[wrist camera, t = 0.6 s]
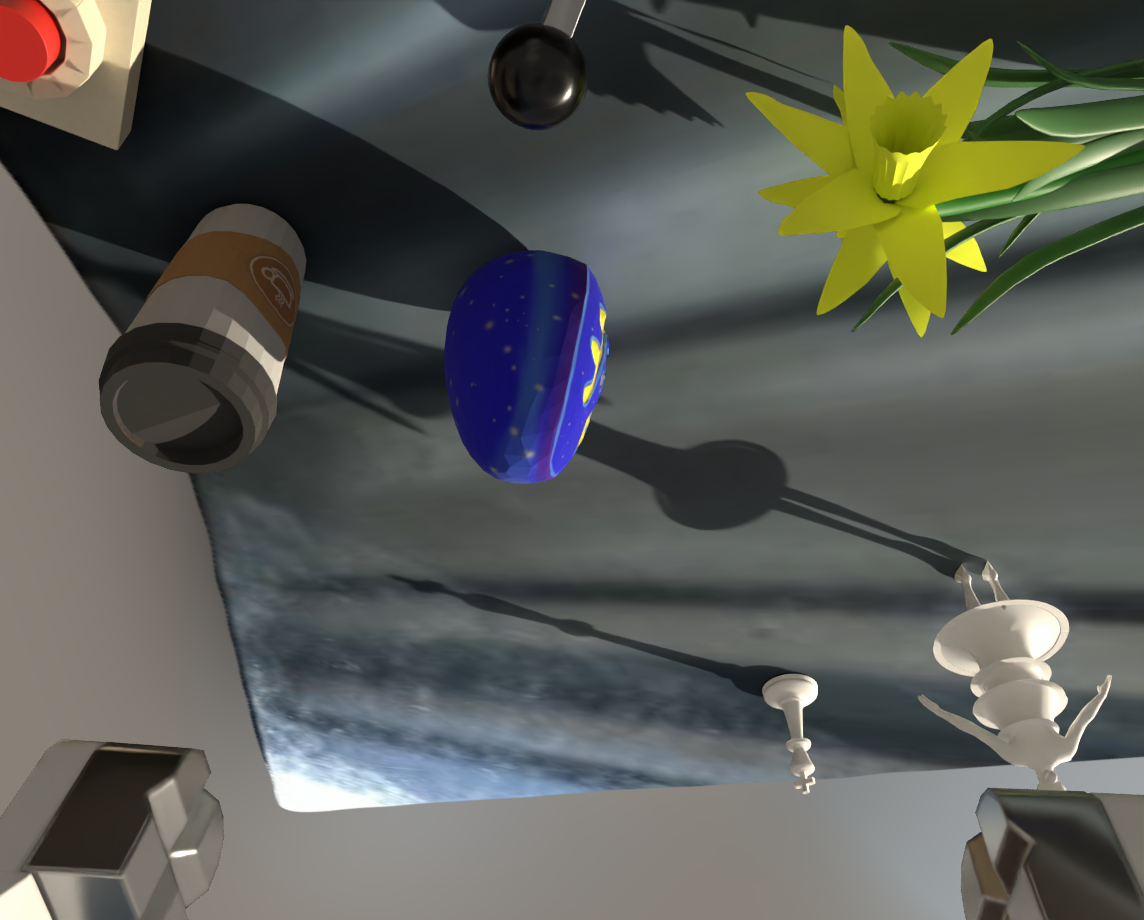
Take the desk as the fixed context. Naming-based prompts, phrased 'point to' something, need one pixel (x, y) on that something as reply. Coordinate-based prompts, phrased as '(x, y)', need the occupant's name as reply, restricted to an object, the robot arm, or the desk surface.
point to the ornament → (525, 362)
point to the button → (27, 40)
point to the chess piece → (794, 719)
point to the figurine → (1012, 678)
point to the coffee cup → (208, 345)
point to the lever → (540, 69)
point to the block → (88, 71)
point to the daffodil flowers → (955, 171)
